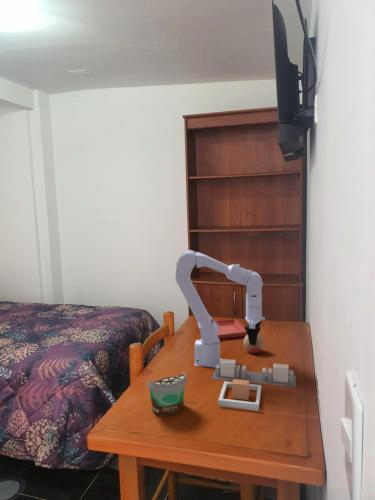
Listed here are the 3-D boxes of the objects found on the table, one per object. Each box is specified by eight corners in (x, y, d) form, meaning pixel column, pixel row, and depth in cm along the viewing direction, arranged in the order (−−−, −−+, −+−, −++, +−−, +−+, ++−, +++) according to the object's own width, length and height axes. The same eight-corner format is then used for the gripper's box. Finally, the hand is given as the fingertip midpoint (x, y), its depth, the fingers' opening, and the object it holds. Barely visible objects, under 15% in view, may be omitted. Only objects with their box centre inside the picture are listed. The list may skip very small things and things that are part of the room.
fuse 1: (220, 375, 132) (220, 362, 132) (221, 372, 135) (221, 358, 134) (234, 377, 131) (234, 363, 130) (235, 373, 134) (235, 360, 133)
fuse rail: (211, 380, 130) (211, 370, 130) (215, 369, 138) (215, 360, 138) (296, 388, 124) (296, 378, 123) (295, 377, 131) (295, 367, 131)
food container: (156, 423, 106) (155, 389, 105) (147, 412, 111) (146, 380, 110) (194, 411, 111) (194, 379, 110) (185, 401, 117) (184, 370, 116)
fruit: (262, 348, 157) (262, 330, 156) (264, 356, 149) (264, 337, 148) (242, 348, 158) (243, 330, 157) (243, 356, 150) (243, 336, 149)
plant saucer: (250, 337, 171) (250, 330, 171) (212, 342, 166) (212, 334, 166) (235, 325, 188) (235, 318, 188) (200, 328, 184) (200, 322, 183)
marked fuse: (232, 398, 117) (232, 383, 117) (233, 393, 120) (233, 379, 120) (248, 400, 116) (248, 385, 115) (249, 395, 119) (249, 380, 118)
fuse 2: (272, 381, 128) (273, 367, 127) (273, 377, 131) (273, 363, 130) (288, 382, 126) (288, 368, 126) (288, 378, 129) (288, 364, 129)
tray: (218, 406, 114) (218, 399, 114) (224, 387, 125) (224, 381, 125) (258, 411, 111) (258, 404, 111) (261, 391, 122) (261, 385, 122)
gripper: (263, 311, 131) (263, 349, 132) (265, 300, 145) (265, 335, 146) (243, 310, 132) (243, 347, 134) (247, 300, 146) (247, 333, 148)
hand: (253, 341), depth 140 cm, fingers open, 7 cm apart
